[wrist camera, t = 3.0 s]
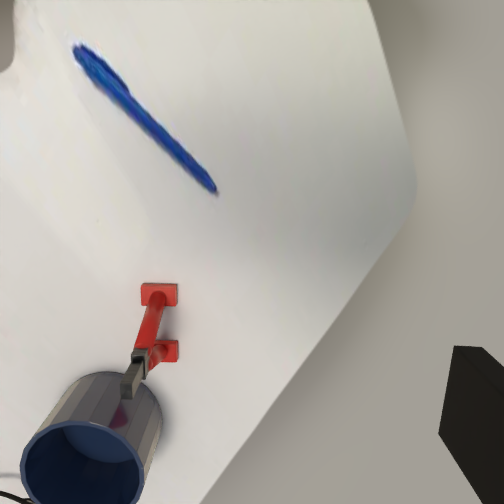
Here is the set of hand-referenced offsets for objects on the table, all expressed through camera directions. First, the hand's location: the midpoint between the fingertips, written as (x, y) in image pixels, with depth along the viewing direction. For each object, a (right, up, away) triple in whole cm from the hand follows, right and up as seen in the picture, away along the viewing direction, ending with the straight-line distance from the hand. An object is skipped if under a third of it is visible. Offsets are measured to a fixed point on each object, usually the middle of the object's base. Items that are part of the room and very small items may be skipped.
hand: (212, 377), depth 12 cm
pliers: (-7, -3, +28) cm, 29 cm away
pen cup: (-12, -12, +31) cm, 35 cm away
